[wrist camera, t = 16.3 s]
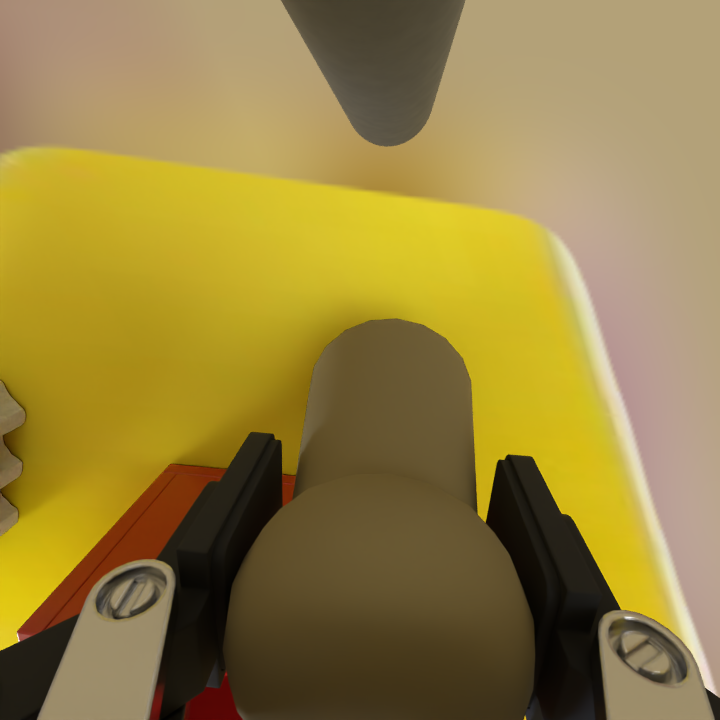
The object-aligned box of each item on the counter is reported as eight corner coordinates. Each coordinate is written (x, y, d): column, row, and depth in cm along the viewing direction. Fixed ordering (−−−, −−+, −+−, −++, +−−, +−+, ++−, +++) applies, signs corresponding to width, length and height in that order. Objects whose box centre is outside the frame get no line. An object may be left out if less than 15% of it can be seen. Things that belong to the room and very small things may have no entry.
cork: (278, 370, 16) (70, 665, 6) (419, 286, 15) (462, 490, 5) (364, 488, 18) (316, 884, 8) (501, 423, 16) (672, 810, 6)
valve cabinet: (169, 462, 23) (15, 632, 14) (409, 486, 22) (416, 682, 13) (190, 662, 28) (86, 887, 19) (388, 687, 27) (382, 936, 18)
